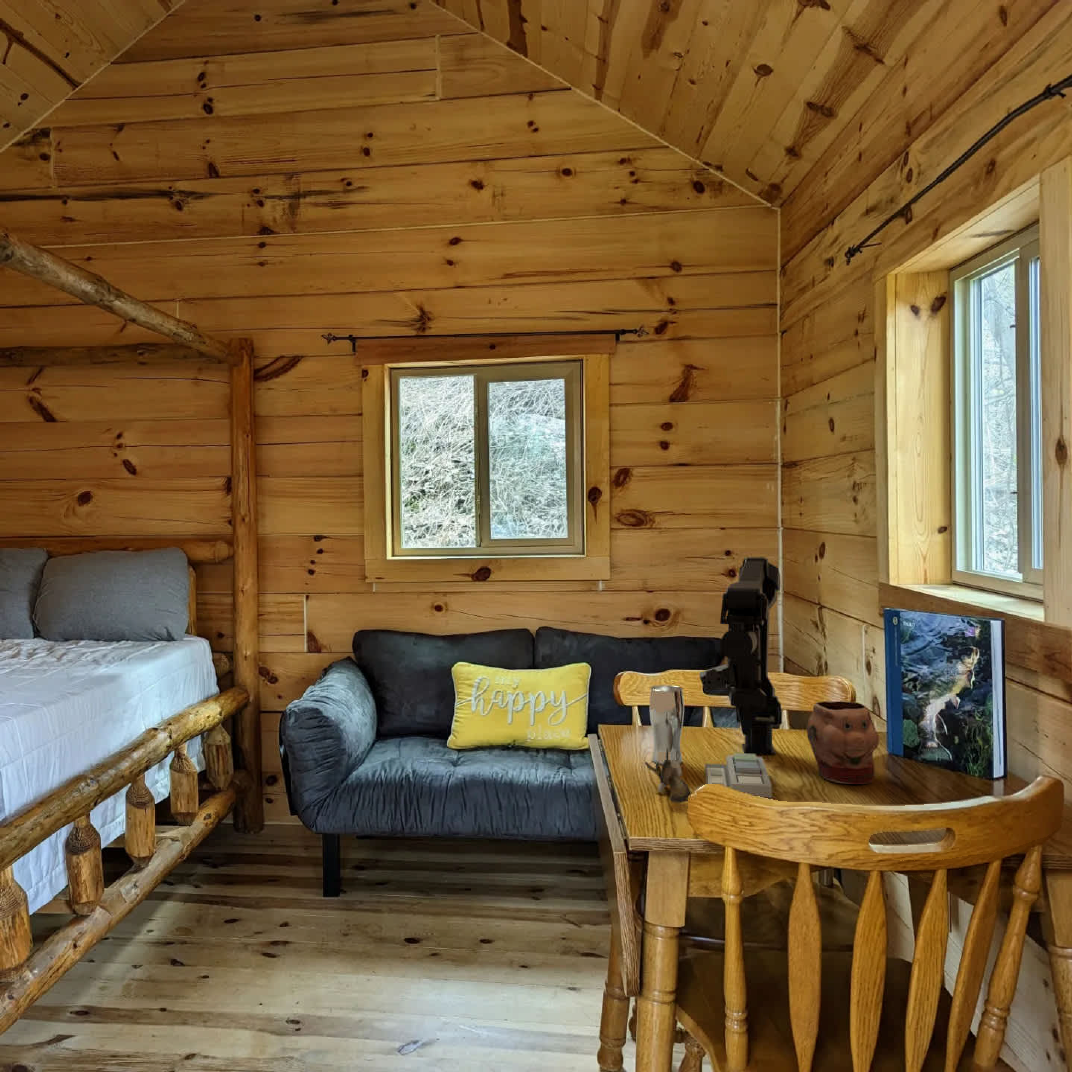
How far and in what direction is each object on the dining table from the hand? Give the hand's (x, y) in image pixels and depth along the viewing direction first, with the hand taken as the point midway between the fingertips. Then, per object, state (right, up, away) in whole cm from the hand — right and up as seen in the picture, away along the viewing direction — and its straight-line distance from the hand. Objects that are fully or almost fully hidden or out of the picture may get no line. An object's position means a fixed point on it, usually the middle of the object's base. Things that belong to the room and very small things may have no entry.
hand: (745, 734), depth 147 cm
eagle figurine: (-16, -9, -9) cm, 20 cm away
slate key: (-1, -6, -6) cm, 8 cm away
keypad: (-3, -8, -5) cm, 10 cm away
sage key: (0, -6, 0) cm, 6 cm away
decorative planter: (+18, -8, 0) cm, 20 cm away
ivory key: (-2, -7, -11) cm, 13 cm away
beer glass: (-13, -8, +11) cm, 19 cm away
